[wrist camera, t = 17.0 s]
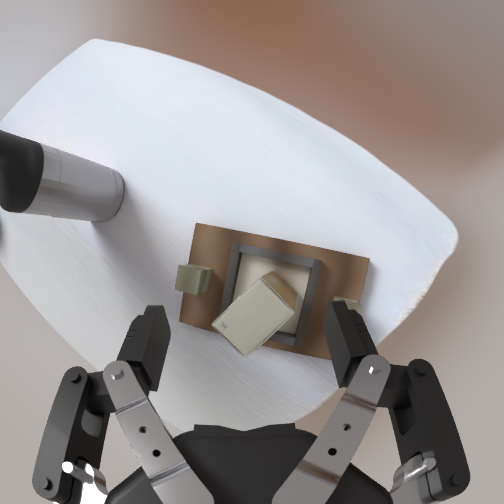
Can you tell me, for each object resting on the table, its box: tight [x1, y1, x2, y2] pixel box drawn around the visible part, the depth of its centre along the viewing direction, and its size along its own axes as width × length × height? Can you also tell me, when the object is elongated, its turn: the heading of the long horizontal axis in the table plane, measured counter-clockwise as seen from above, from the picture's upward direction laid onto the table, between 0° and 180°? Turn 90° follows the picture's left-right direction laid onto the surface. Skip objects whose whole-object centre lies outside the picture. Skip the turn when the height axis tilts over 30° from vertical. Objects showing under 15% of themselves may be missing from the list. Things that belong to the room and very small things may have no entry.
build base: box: [175, 223, 370, 360], centre depth 33 cm, size 23×14×6 cm, turn 78°
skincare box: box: [212, 269, 297, 357], centre depth 28 cm, size 6×4×12 cm
